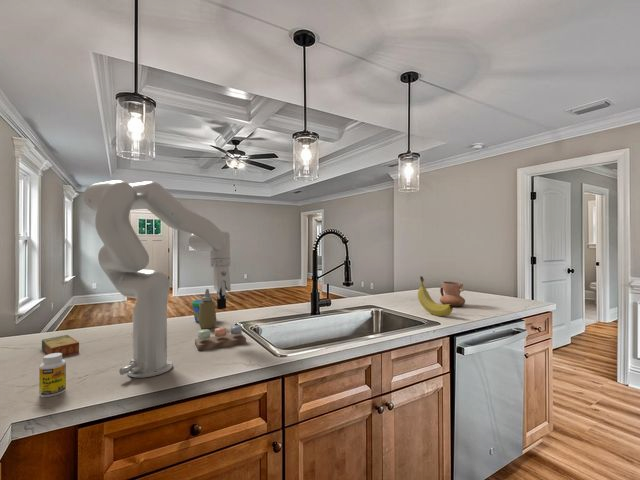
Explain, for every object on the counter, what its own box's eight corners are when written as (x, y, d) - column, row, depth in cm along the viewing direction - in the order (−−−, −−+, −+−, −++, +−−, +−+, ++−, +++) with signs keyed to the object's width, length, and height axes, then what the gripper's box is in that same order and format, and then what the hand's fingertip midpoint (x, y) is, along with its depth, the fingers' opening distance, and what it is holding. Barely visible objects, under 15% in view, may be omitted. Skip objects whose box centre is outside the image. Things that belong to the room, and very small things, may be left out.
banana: (456, 318, 169) (456, 279, 169) (448, 319, 166) (448, 280, 166) (422, 310, 189) (422, 275, 189) (415, 311, 186) (415, 276, 186)
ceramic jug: (472, 307, 196) (472, 283, 196) (453, 309, 191) (453, 284, 191) (450, 302, 213) (450, 280, 213) (432, 303, 208) (432, 281, 208)
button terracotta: (215, 337, 126) (215, 330, 126) (213, 334, 130) (213, 328, 130) (227, 335, 128) (227, 329, 128) (225, 332, 132) (225, 326, 132)
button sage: (198, 339, 123) (198, 333, 123) (197, 336, 127) (197, 330, 127) (211, 337, 125) (211, 331, 125) (209, 334, 129) (209, 328, 129)
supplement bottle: (38, 400, 84) (37, 360, 84) (40, 392, 89) (40, 354, 89) (65, 394, 87) (65, 356, 87) (66, 386, 92) (66, 350, 92)
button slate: (232, 334, 129) (232, 328, 129) (229, 332, 133) (229, 326, 133) (243, 333, 131) (243, 327, 131) (240, 330, 135) (240, 324, 135)
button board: (198, 350, 121) (198, 344, 121) (194, 344, 129) (194, 338, 129) (246, 343, 129) (246, 337, 129) (240, 337, 137) (240, 332, 137)
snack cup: (211, 324, 159) (211, 303, 159) (188, 325, 157) (188, 304, 157) (215, 316, 174) (215, 297, 174) (195, 317, 172) (194, 298, 172)
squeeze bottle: (210, 330, 148) (210, 290, 148) (194, 329, 150) (194, 290, 150) (219, 325, 156) (219, 288, 156) (204, 324, 158) (204, 287, 158)
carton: (50, 360, 113) (50, 347, 113) (41, 350, 124) (40, 338, 124) (79, 353, 120) (79, 341, 120) (68, 344, 130) (68, 333, 130)
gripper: (234, 263, 124) (235, 311, 125) (226, 260, 138) (227, 304, 138) (214, 264, 121) (215, 313, 121) (207, 261, 134) (208, 306, 135)
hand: (221, 308), depth 130 cm, fingers closed
